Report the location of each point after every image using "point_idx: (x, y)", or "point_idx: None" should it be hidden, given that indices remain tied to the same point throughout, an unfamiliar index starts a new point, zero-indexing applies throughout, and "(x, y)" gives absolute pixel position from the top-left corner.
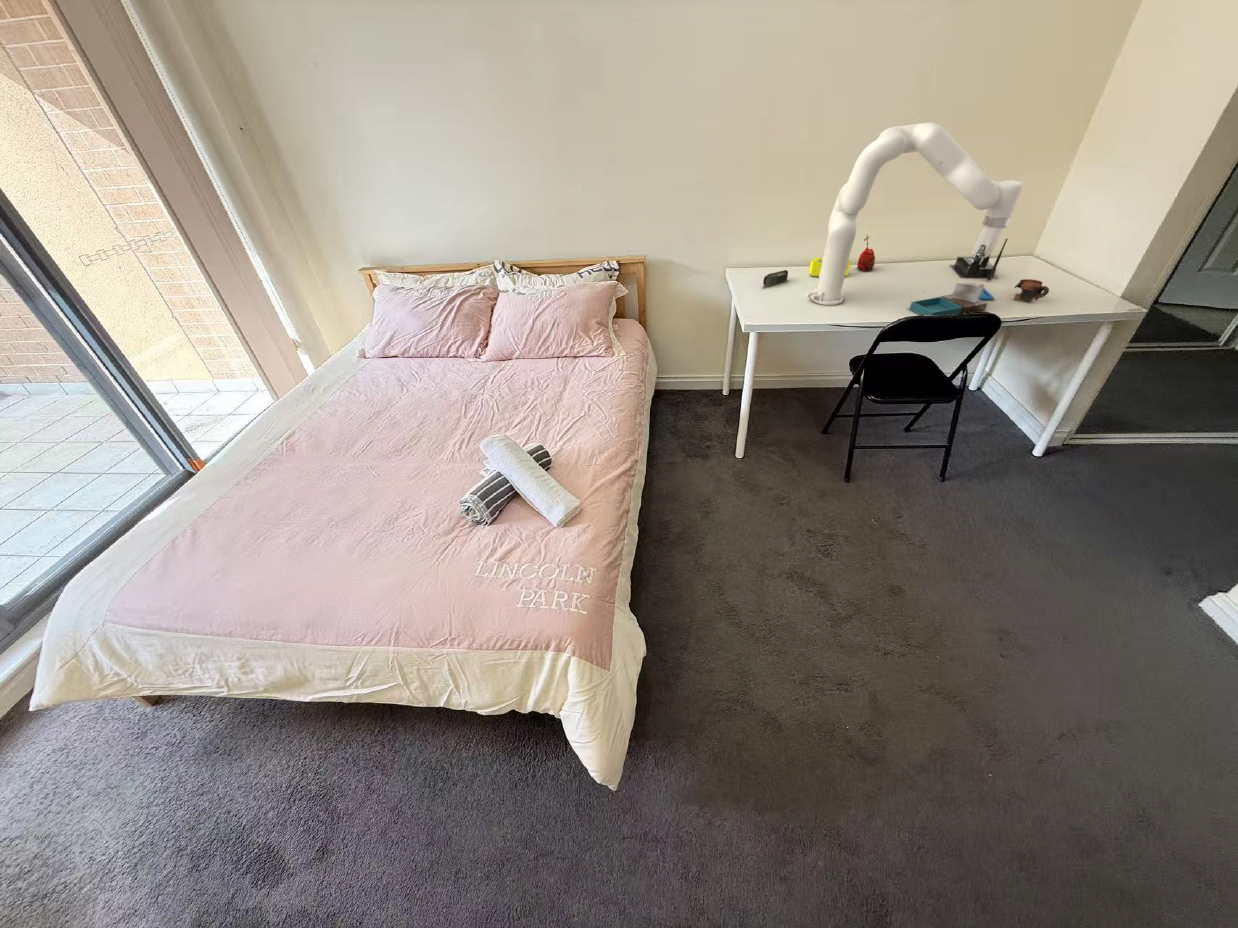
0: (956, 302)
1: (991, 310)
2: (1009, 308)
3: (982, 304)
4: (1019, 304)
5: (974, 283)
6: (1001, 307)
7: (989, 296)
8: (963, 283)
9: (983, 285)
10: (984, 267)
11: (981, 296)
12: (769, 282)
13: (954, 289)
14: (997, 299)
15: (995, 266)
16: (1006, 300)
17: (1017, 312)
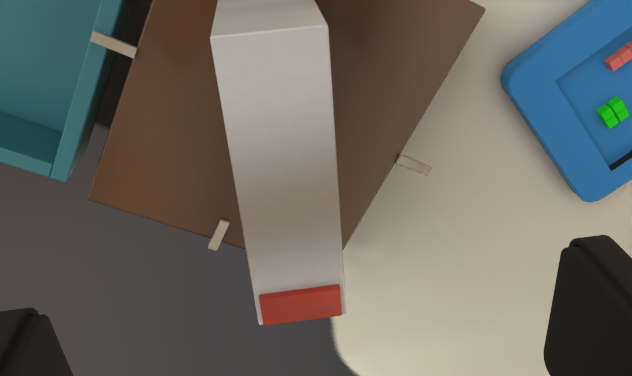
0: (133, 89)
1: (361, 261)
2: (470, 314)
3: None
4: None
5: (332, 225)
6: (460, 279)
7: (605, 171)
8: (231, 127)
9: (328, 313)
10: (552, 363)
11: (576, 128)
12: None
13: (216, 10)
14: (613, 207)
15: None
16: None
17: (427, 362)
